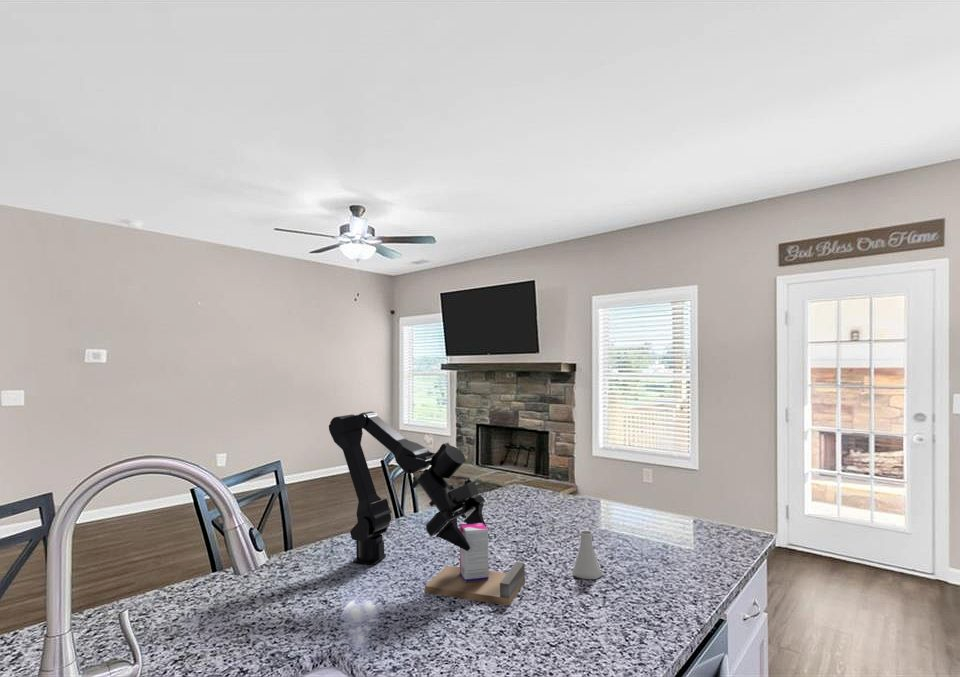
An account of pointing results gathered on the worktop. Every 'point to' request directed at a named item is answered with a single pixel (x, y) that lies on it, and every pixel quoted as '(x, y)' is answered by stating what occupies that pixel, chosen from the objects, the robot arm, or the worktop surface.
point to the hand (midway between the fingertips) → (478, 543)
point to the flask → (586, 558)
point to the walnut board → (479, 585)
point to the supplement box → (475, 553)
